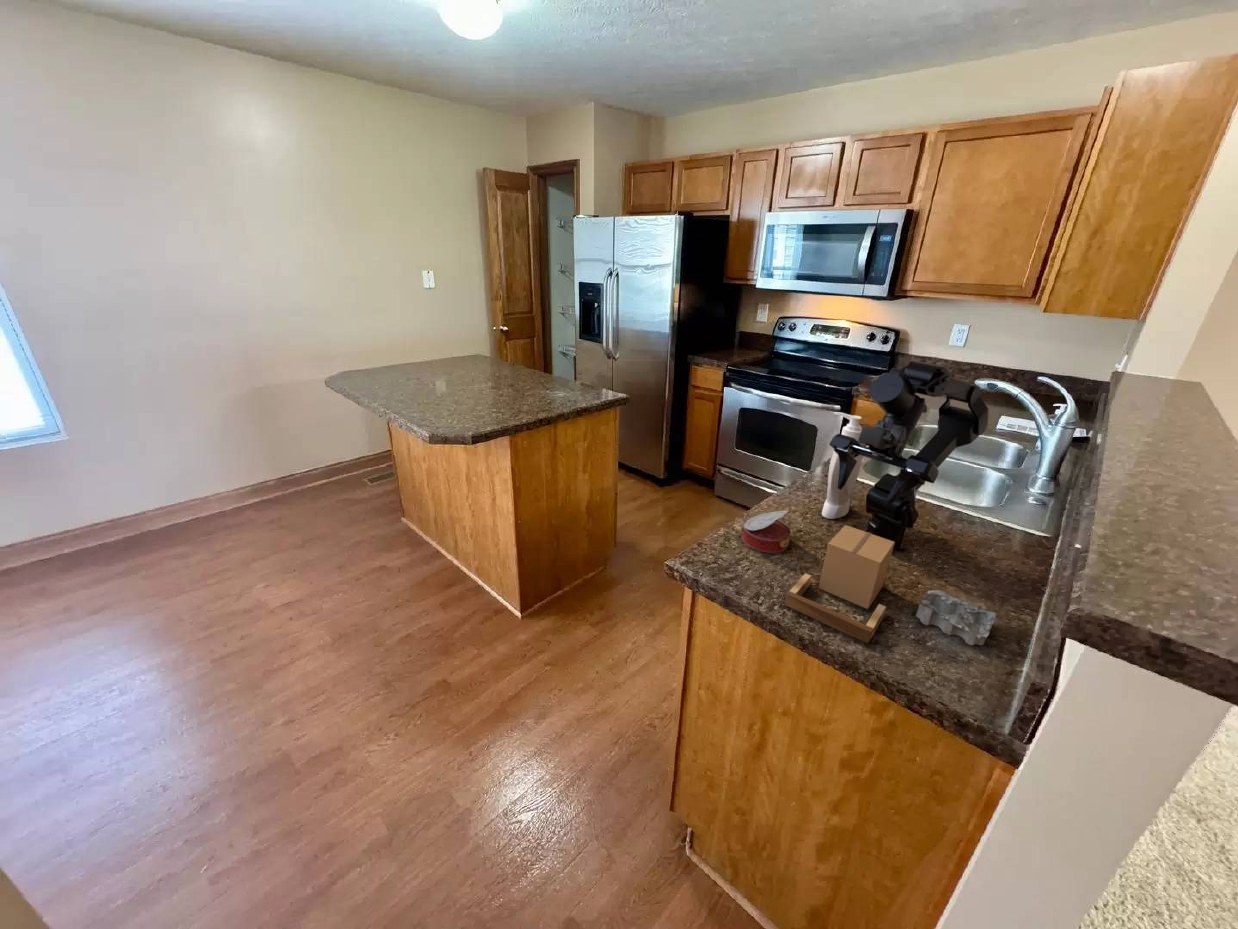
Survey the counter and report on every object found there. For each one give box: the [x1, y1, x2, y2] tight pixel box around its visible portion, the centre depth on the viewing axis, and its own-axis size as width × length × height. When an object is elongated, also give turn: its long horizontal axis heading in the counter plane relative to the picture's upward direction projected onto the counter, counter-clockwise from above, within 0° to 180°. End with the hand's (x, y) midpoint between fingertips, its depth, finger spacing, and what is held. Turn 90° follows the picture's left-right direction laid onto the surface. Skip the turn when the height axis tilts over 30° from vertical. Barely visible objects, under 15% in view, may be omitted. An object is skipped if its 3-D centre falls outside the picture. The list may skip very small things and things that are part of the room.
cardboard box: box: [818, 524, 895, 610], centre depth 95 cm, size 9×9×10 cm
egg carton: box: [915, 589, 997, 646], centre depth 88 cm, size 11×8×4 cm
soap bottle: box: [821, 411, 864, 520], centre depth 121 cm, size 13×8×24 cm, turn 133°
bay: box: [784, 573, 887, 645], centre depth 90 cm, size 8×14×2 cm, turn 49°
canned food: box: [741, 509, 791, 554], centre depth 111 cm, size 11×10×10 cm
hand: (861, 497), depth 97 cm, fingers open, 9 cm apart
